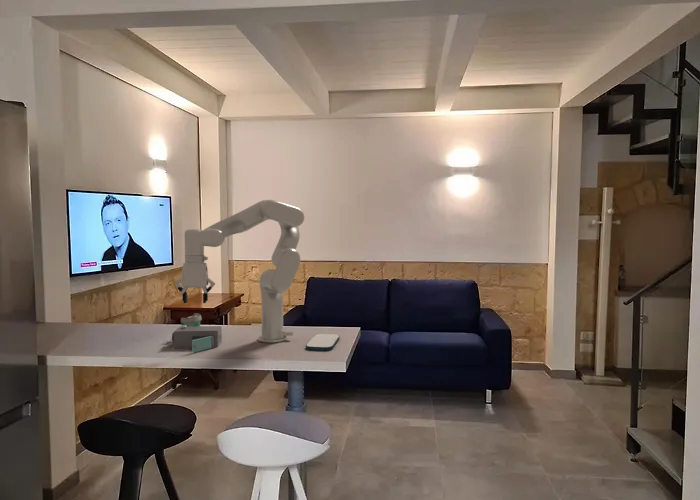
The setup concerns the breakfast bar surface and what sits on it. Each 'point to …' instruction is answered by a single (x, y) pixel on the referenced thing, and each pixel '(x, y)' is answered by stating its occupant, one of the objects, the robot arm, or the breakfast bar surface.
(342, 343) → the breakfast bar surface
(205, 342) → the side door
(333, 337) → the external hard drive
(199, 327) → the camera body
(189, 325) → the food container
